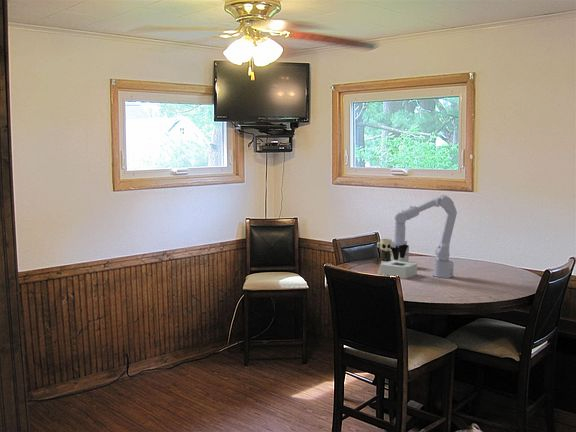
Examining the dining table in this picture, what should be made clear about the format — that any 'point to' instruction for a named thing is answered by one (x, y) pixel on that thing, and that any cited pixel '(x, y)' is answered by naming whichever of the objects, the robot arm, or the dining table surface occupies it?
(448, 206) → the robot arm
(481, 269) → the dining table surface
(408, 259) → the supplement box
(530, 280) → the dining table surface
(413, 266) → the white square ring
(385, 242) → the character mug
